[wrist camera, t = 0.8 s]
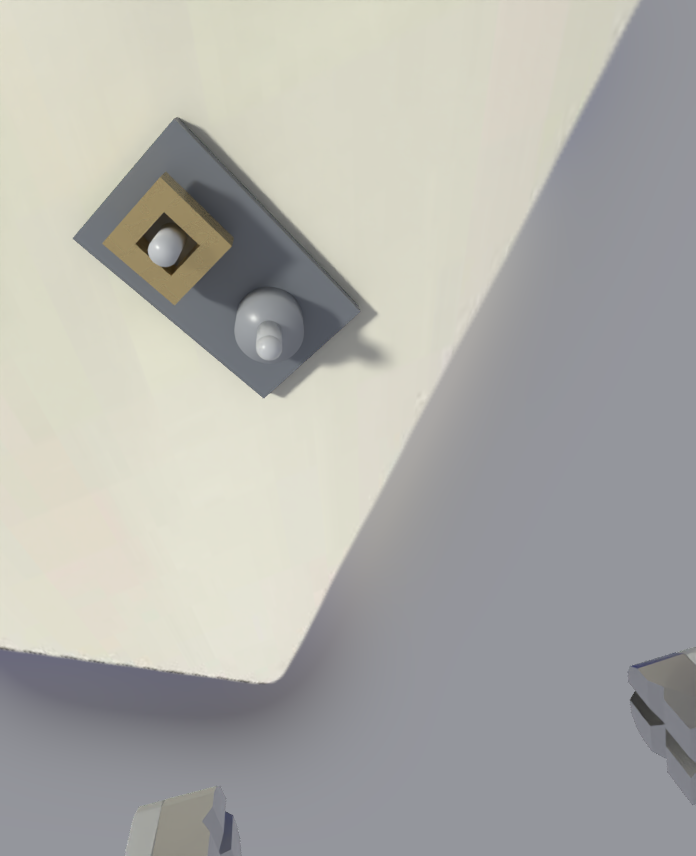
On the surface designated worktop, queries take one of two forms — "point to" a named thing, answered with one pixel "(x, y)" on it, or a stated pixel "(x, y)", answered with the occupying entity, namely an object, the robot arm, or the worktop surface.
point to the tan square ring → (185, 214)
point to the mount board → (227, 267)
